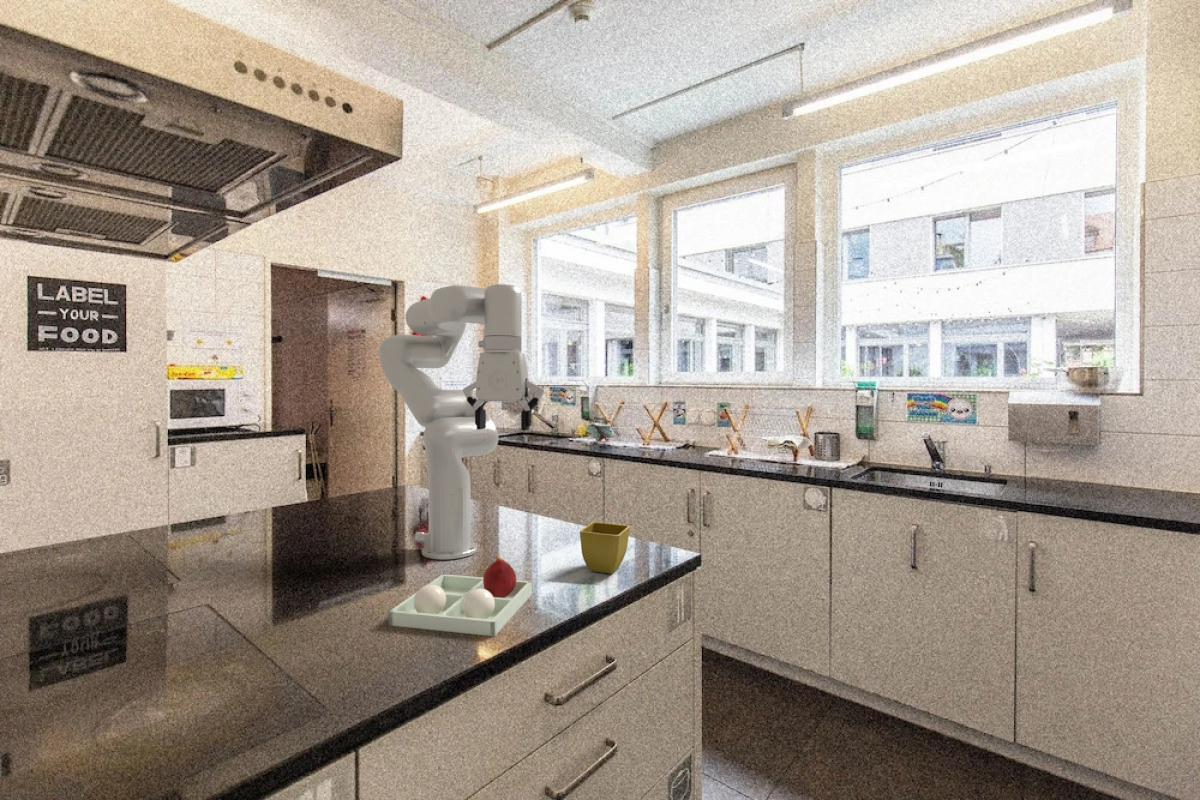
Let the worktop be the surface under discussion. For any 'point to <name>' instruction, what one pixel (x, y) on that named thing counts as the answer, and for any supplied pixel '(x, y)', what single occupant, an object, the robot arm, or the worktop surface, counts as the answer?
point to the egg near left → (430, 599)
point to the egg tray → (461, 608)
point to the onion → (499, 578)
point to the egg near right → (478, 604)
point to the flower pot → (604, 546)
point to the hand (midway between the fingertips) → (503, 429)
